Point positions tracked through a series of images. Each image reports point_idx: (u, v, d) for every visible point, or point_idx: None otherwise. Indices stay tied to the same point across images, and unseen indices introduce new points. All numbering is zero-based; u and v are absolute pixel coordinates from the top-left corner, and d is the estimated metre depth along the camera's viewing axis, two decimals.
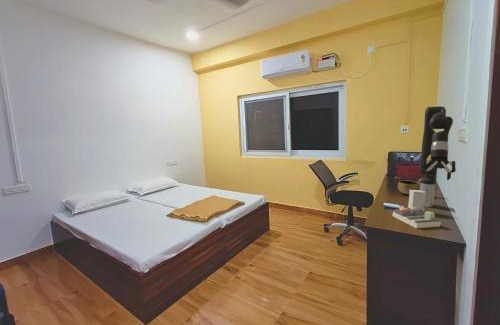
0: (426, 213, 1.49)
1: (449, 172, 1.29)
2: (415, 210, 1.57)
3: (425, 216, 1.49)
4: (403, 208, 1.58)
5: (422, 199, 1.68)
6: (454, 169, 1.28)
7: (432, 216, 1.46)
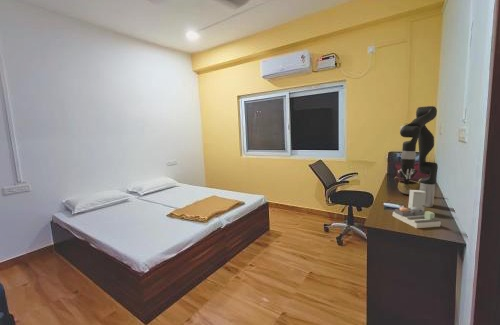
0: (426, 213, 1.49)
1: (409, 179, 1.54)
2: (415, 210, 1.57)
3: (425, 216, 1.49)
4: (403, 208, 1.58)
5: (422, 199, 1.68)
6: (412, 176, 1.54)
7: (432, 216, 1.46)
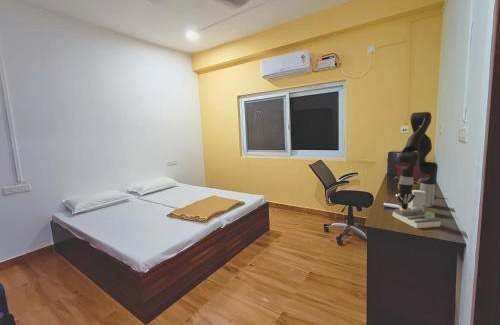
0: (426, 213, 1.49)
1: (407, 203, 1.56)
2: (415, 210, 1.57)
3: (425, 216, 1.49)
4: None
5: (422, 199, 1.68)
6: (410, 201, 1.56)
7: (432, 216, 1.46)
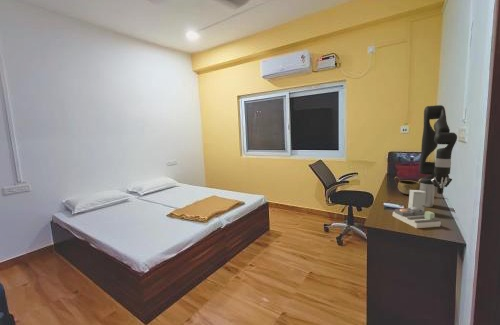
0: (426, 213, 1.49)
1: (443, 188, 1.46)
2: (415, 210, 1.57)
3: (425, 216, 1.49)
4: (403, 210, 1.58)
5: (422, 199, 1.68)
6: (447, 185, 1.46)
7: (432, 216, 1.46)
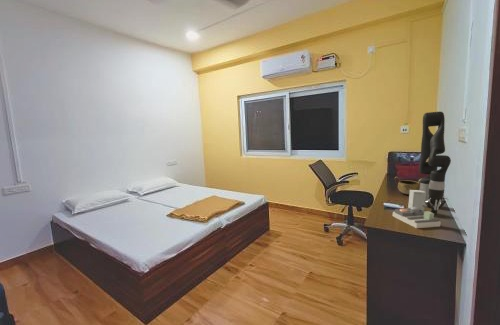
0: (425, 213, 1.49)
1: None
2: (415, 210, 1.57)
3: (424, 216, 1.49)
4: (403, 210, 1.58)
5: (422, 199, 1.68)
6: (441, 207, 1.47)
7: (431, 216, 1.46)
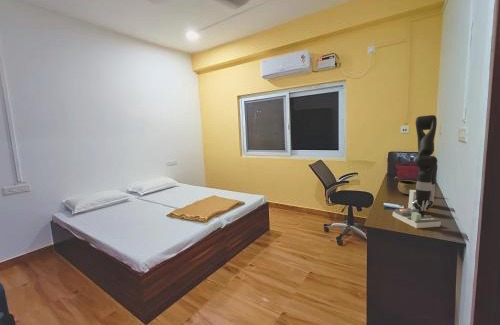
0: (413, 214, 1.47)
1: (424, 210, 1.46)
2: (415, 210, 1.57)
3: (412, 217, 1.48)
4: (403, 210, 1.58)
5: None
6: (428, 208, 1.46)
7: (418, 217, 1.45)
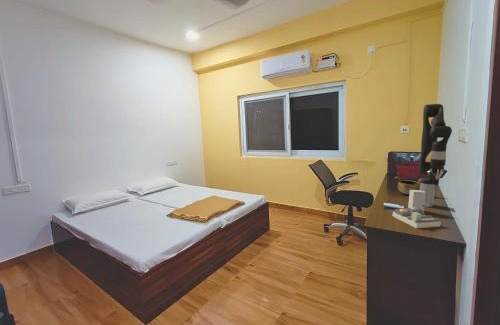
0: (413, 214, 1.47)
1: (438, 179, 1.53)
2: (415, 210, 1.57)
3: (412, 217, 1.48)
4: (403, 210, 1.58)
5: (422, 199, 1.68)
6: (442, 176, 1.53)
7: (418, 217, 1.45)
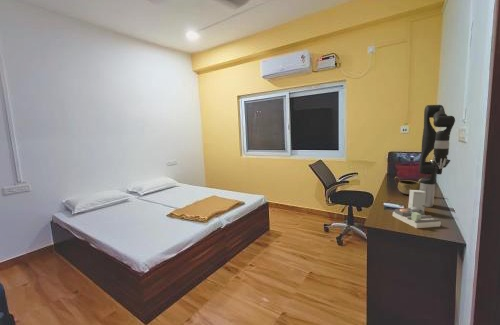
0: (413, 214, 1.47)
1: (442, 168, 1.55)
2: (415, 210, 1.57)
3: (412, 217, 1.48)
4: (403, 210, 1.58)
5: (422, 199, 1.68)
6: (445, 166, 1.55)
7: (418, 217, 1.45)
